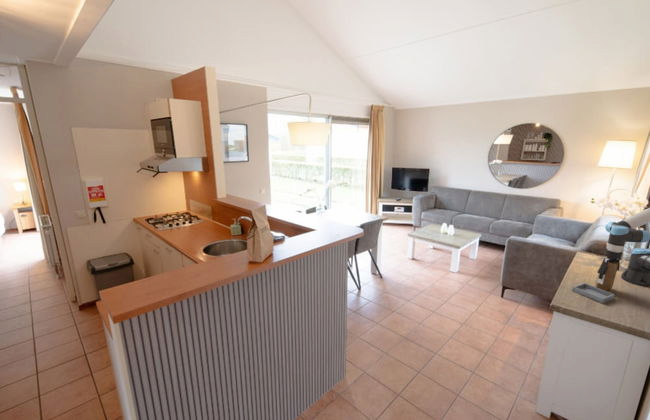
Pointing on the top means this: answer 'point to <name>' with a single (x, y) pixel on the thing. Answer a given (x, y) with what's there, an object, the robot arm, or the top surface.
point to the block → (608, 277)
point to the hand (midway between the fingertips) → (605, 281)
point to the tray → (593, 293)
